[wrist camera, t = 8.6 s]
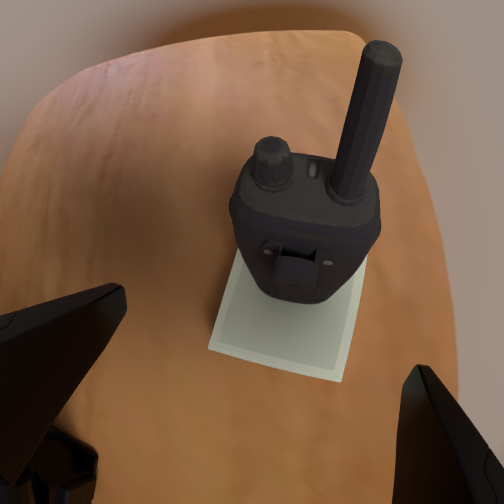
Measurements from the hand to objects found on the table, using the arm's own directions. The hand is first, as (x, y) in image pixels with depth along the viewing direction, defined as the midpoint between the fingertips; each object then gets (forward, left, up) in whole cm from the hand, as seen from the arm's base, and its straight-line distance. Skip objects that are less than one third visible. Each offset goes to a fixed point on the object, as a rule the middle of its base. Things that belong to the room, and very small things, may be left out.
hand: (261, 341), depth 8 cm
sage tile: (0, +4, -12) cm, 13 cm away
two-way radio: (0, +4, -9) cm, 10 cm away
